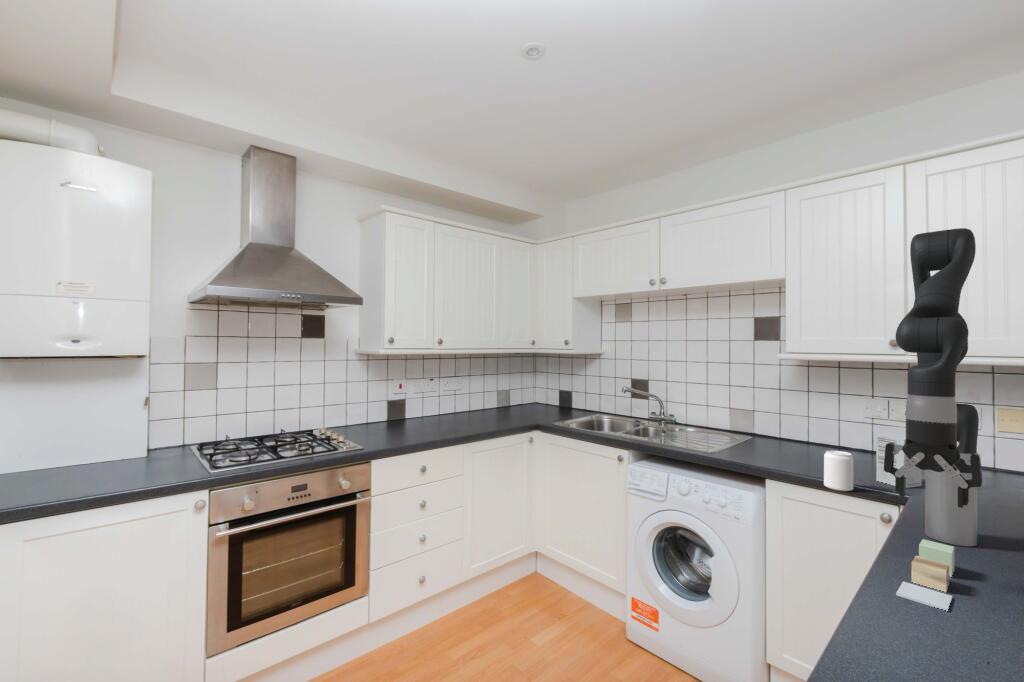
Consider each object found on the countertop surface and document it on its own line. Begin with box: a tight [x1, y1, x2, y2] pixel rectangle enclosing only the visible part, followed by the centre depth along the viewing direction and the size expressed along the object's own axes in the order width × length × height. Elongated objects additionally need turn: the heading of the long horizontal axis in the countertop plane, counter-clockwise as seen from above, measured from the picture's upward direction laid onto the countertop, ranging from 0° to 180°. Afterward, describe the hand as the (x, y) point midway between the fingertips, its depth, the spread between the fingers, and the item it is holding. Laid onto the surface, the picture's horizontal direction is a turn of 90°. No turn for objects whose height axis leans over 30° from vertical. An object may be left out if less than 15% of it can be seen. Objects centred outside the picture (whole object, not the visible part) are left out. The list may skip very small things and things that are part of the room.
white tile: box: [895, 581, 953, 612], centre depth 85 cm, size 7×7×1 cm
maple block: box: [910, 555, 950, 593], centre depth 91 cm, size 5×5×4 cm
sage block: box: [918, 538, 955, 578], centre depth 97 cm, size 5×5×5 cm
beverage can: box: [823, 449, 854, 492], centre depth 156 cm, size 8×8×12 cm
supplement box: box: [875, 433, 922, 489], centre depth 164 cm, size 10×9×17 cm
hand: (930, 501), depth 91 cm, fingers open, 8 cm apart
